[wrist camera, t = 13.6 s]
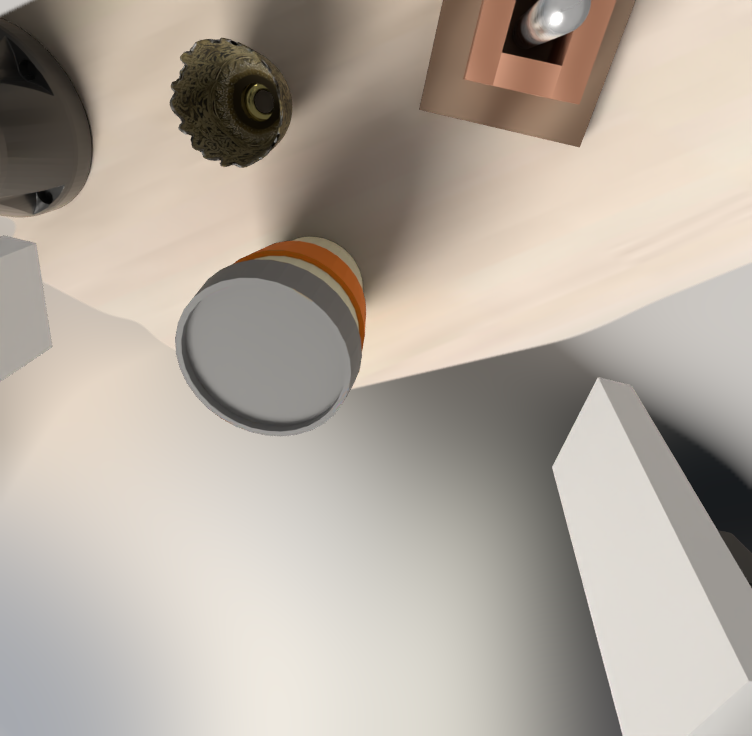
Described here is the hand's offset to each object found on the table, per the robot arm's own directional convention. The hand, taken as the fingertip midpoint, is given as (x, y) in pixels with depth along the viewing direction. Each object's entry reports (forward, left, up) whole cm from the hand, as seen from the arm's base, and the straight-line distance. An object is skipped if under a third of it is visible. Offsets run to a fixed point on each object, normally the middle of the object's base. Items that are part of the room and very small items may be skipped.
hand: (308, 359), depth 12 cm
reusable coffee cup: (-6, -12, -33) cm, 36 cm away
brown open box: (+6, +10, -31) cm, 33 cm away
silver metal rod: (+6, +10, -31) cm, 33 cm away
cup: (-12, +2, -33) cm, 35 cm away
